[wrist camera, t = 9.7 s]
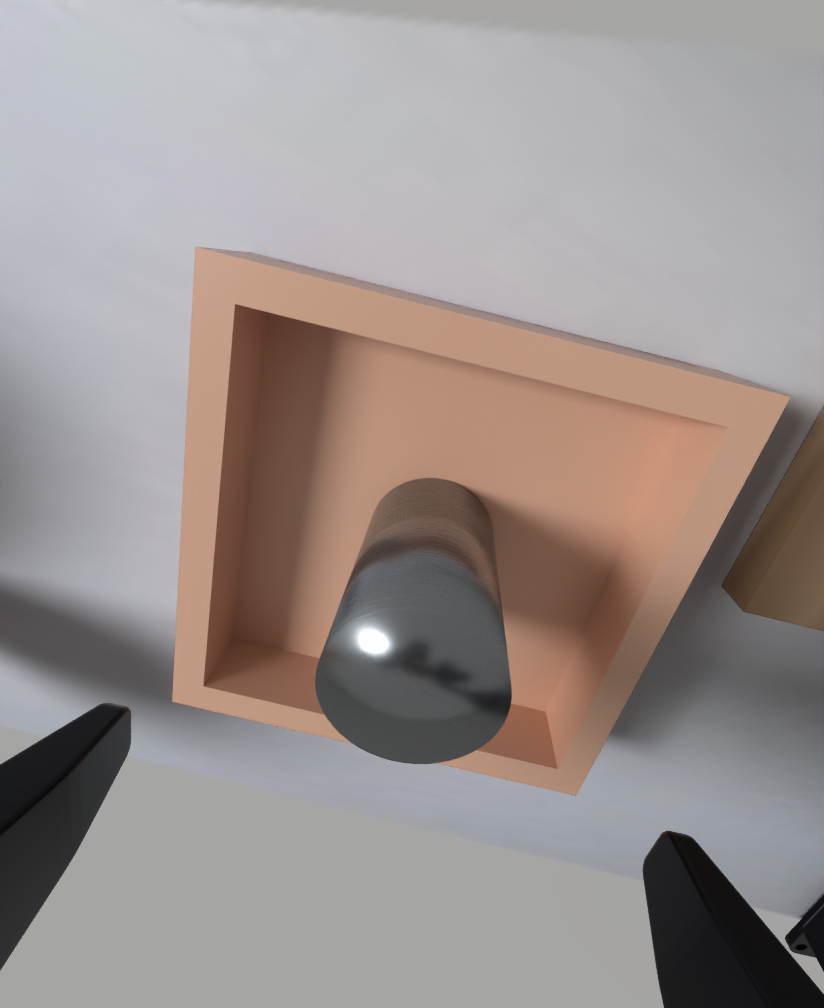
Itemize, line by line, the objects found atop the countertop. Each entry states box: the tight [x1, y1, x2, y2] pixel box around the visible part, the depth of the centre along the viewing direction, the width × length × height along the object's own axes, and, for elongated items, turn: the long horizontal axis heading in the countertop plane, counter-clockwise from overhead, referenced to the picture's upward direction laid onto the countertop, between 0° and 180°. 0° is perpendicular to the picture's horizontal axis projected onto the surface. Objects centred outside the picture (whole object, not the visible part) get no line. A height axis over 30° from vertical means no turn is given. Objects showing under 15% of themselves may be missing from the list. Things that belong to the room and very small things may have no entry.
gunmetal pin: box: [315, 478, 512, 764], centre depth 14 cm, size 4×4×7 cm
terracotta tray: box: [172, 247, 790, 796], centre depth 16 cm, size 14×14×4 cm
